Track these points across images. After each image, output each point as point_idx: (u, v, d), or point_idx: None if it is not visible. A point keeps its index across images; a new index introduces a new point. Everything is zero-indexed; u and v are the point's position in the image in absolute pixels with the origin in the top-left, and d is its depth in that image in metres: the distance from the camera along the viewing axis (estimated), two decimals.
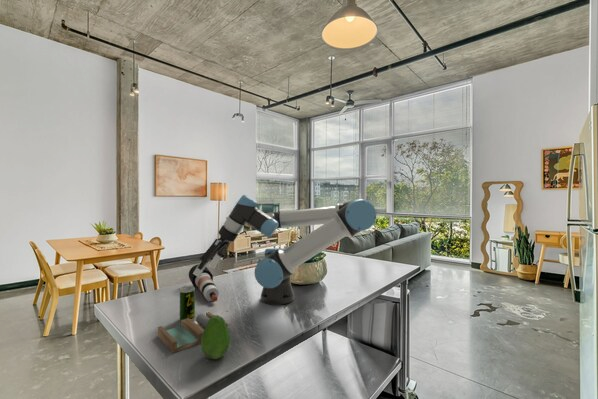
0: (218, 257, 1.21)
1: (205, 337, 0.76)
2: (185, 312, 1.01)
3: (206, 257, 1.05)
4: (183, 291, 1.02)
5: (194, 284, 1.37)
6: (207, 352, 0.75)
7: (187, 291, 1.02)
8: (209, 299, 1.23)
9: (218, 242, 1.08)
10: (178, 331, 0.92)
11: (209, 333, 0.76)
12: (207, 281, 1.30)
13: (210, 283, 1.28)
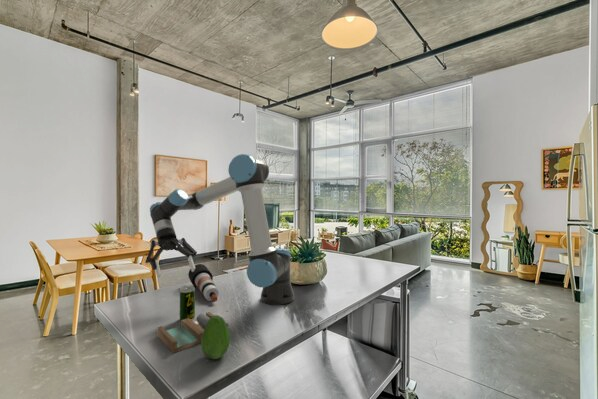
0: (189, 258, 1.19)
1: (205, 337, 0.76)
2: (185, 312, 1.01)
3: (147, 256, 1.10)
4: (183, 291, 1.02)
5: (194, 284, 1.37)
6: (207, 352, 0.75)
7: (187, 291, 1.02)
8: (209, 299, 1.23)
9: (151, 242, 1.15)
10: (178, 331, 0.92)
11: (209, 333, 0.76)
12: (207, 281, 1.30)
13: (210, 283, 1.28)
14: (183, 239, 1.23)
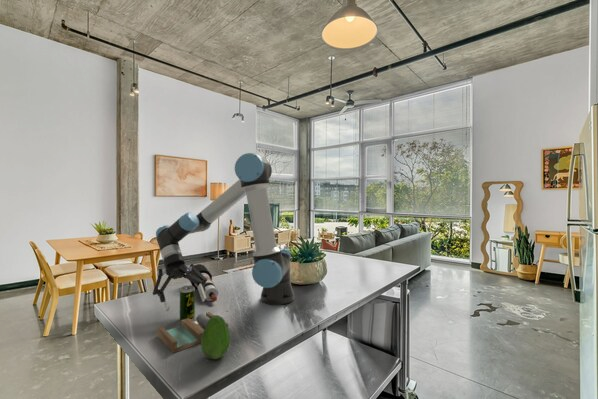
0: (199, 286, 1.11)
1: (205, 337, 0.76)
2: (185, 312, 1.01)
3: (154, 287, 1.01)
4: (183, 291, 1.02)
5: (193, 284, 1.37)
6: (207, 352, 0.75)
7: (187, 291, 1.02)
8: (208, 299, 1.23)
9: (158, 271, 1.07)
10: (178, 331, 0.92)
11: (209, 333, 0.76)
12: (206, 281, 1.29)
13: (209, 283, 1.28)
14: (192, 265, 1.15)
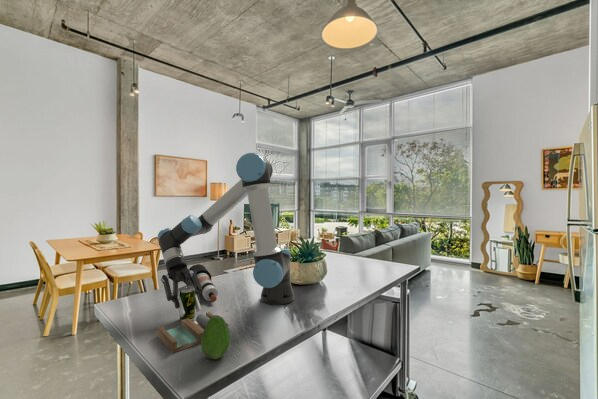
0: None
1: (205, 337, 0.76)
2: (185, 312, 1.01)
3: (167, 294, 1.01)
4: (183, 291, 1.02)
5: None
6: (207, 352, 0.75)
7: (187, 291, 1.02)
8: (208, 299, 1.23)
9: (162, 278, 1.05)
10: (178, 331, 0.92)
11: (209, 333, 0.76)
12: (206, 281, 1.29)
13: (209, 283, 1.28)
14: (195, 271, 1.13)
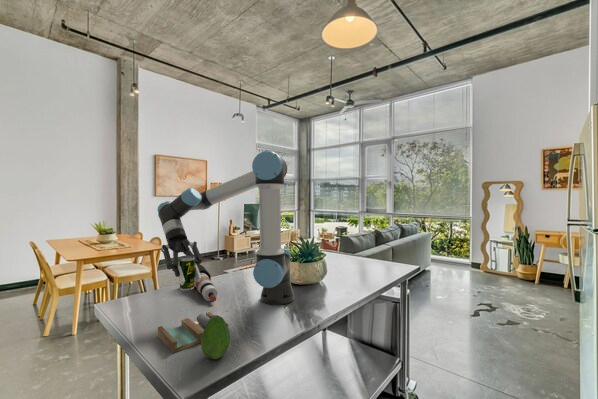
0: None
1: (205, 337, 0.76)
2: (185, 281, 1.01)
3: (167, 262, 1.01)
4: (183, 259, 1.02)
5: None
6: (207, 352, 0.75)
7: (187, 260, 1.02)
8: (208, 299, 1.23)
9: (162, 247, 1.05)
10: (178, 331, 0.92)
11: (209, 333, 0.76)
12: (205, 281, 1.29)
13: (208, 283, 1.27)
14: (195, 243, 1.13)
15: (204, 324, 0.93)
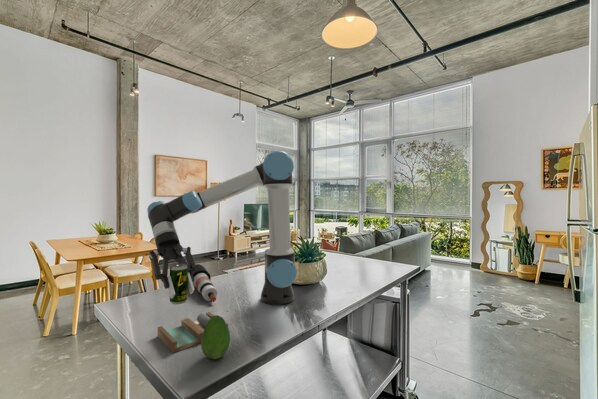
0: None
1: (205, 337, 0.76)
2: (176, 293, 0.88)
3: (155, 272, 0.88)
4: (173, 269, 0.88)
5: None
6: (207, 352, 0.75)
7: (178, 269, 0.88)
8: (207, 299, 1.23)
9: (150, 254, 0.91)
10: (178, 331, 0.92)
11: (209, 333, 0.76)
12: (205, 281, 1.29)
13: (208, 283, 1.27)
14: (188, 248, 0.99)
15: (204, 323, 0.93)
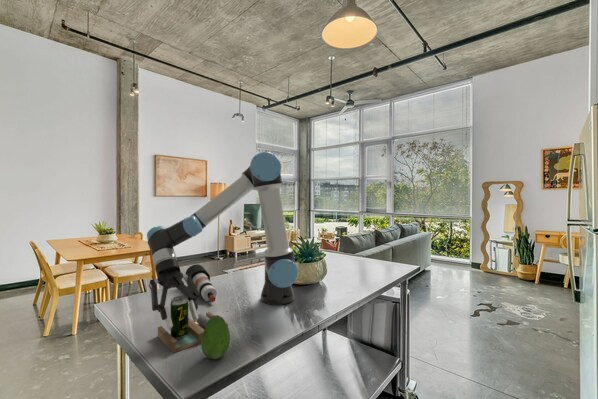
0: (190, 303, 0.92)
1: (205, 337, 0.76)
2: (177, 328, 0.87)
3: (153, 302, 0.86)
4: (174, 303, 0.87)
5: None
6: (207, 352, 0.75)
7: (179, 303, 0.87)
8: (207, 299, 1.23)
9: (149, 282, 0.90)
10: None
11: (209, 333, 0.76)
12: (205, 281, 1.29)
13: (208, 283, 1.27)
14: (189, 275, 0.98)
15: (203, 325, 0.93)
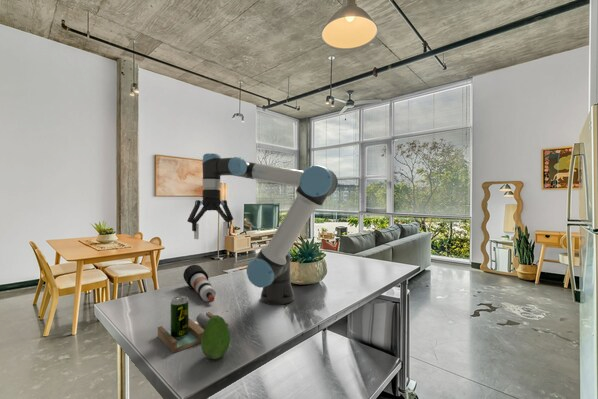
0: (225, 223, 1.25)
1: (205, 337, 0.76)
2: (177, 328, 0.87)
3: (190, 217, 1.14)
4: (174, 303, 0.87)
5: (189, 285, 1.36)
6: (207, 352, 0.75)
7: (179, 303, 0.87)
8: (206, 299, 1.22)
9: (197, 201, 1.16)
10: None
11: (209, 333, 0.76)
12: (203, 281, 1.29)
13: (206, 283, 1.27)
14: (225, 202, 1.24)
15: (204, 324, 0.93)
